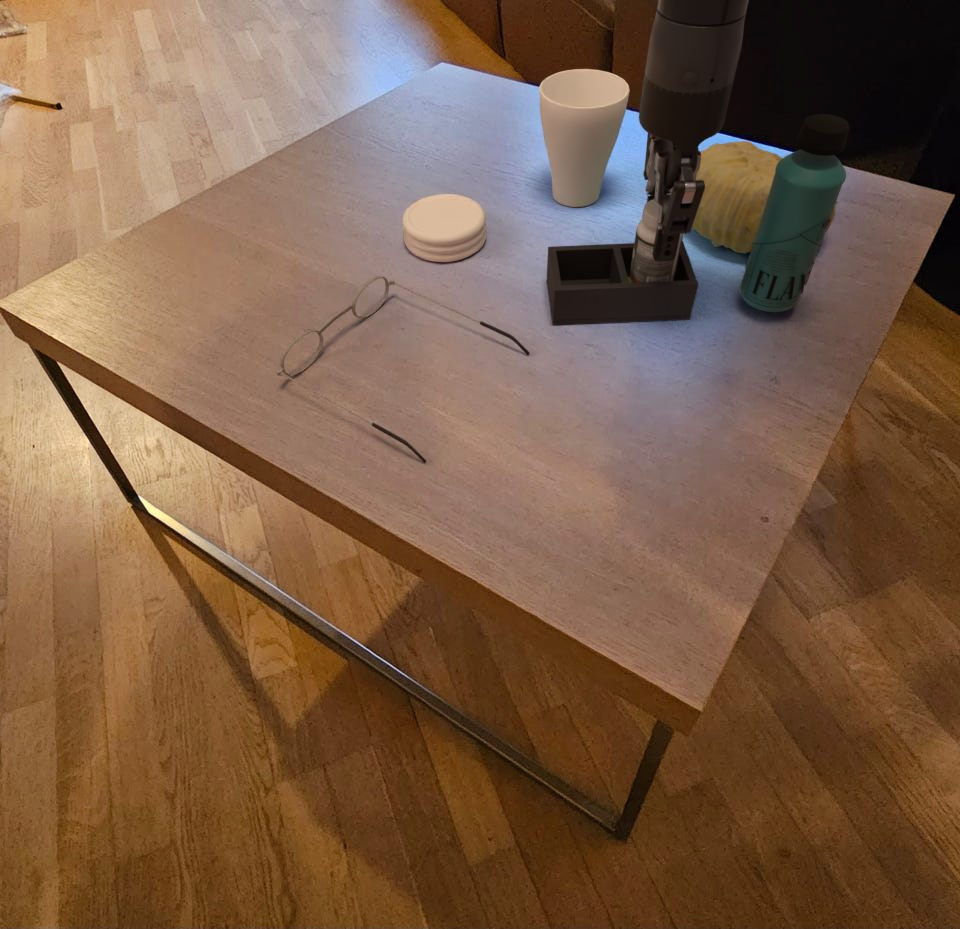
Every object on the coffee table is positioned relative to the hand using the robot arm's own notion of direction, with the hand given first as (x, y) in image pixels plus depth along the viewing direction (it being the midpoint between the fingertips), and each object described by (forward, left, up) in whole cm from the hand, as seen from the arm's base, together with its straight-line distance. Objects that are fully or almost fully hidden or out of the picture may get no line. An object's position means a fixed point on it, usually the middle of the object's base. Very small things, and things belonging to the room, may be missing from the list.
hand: (658, 243), depth 75 cm
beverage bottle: (-12, +2, -7) cm, 15 cm away
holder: (+4, 0, -7) cm, 8 cm away
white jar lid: (+23, -13, -7) cm, 27 cm away
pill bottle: (0, 0, -5) cm, 5 cm away
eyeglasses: (+27, +10, -7) cm, 29 cm away
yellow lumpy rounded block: (-14, -12, -7) cm, 20 cm away
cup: (+6, -22, -7) cm, 24 cm away
